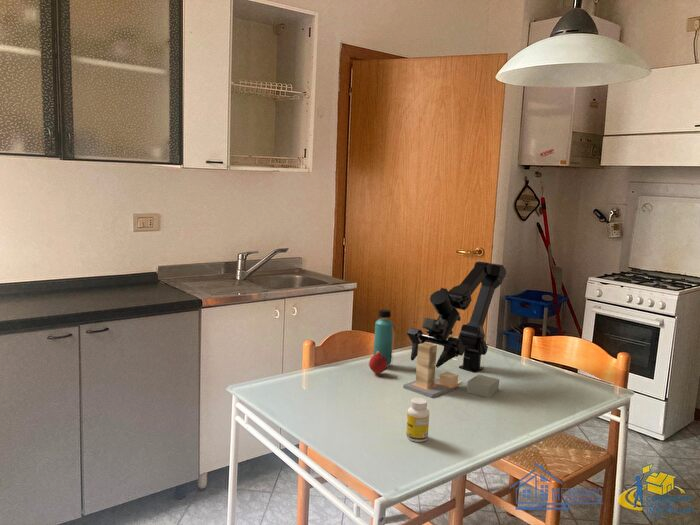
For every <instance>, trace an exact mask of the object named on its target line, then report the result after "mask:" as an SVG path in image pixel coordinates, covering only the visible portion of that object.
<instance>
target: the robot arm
mask: <svg viewBox="0 0 700 525" xmlns="http://www.w3.org/2000/svg"><path fill="white" fill-rule="evenodd" d="M506 275H507V270H506V268H505V267H504V264H499V263H492V262H485V261H480V260H479V261H476V262H474V266H473V268H472V269H471V271H469V273H468V274H467V275H466V277H465V278H464V279H463V280H462V282H461V283H459V284H458V285H456V286H453V287H451V288H450V290H448V289H447V288H444V287H440V290H436V291H435V292H433V293H432V294H431V295H430V296H429V302H430V303H431V305H432V307H433V308H434V310H435V312H436V313H437V314H438V317H437V318H436V319H435V318H429V317H424V319H423V323H422V326H421V328H423V329H426V330H425V332H426V334H428V335H426V334H425V333H424V332H423V331H422V329H419V328H415V327H410V328H409V329H408V330H407V333H406V335H407V336H408V338H409V339H410V341H411V346H412V347H411V351H410V352H411V353H410V361H412V362H414V360H415V359H417V355H418V344H421V343H424V342H427V343H431V344H435V345H437V346H442V347H443V350H442V352H441V354H440V356H438V357H439V358H438V360H436V366H435V368H437V369H438V368H440V367H441V366H443V365H444V364H445V363H447V362H448V361H450V360H452V359H454V358H457V357H458V356H461V357H463V358H462V360H463V361H462V365H459V366H458V368H460V369H461V370H466V371H469V372H472V373H476V372H480V371H482V370H484V369H485V367H484V366H481V363H482V362H481V361H482V355H483V356H486V354H487V352H488V349H489V347H488V345H487V343H486V341H485V338H486V337H485V336H486V334H485V330H484V325H485V322H486V319H487V315H488V312H489V308H490V307H491V306H490V305H491V303H492V299H493V297H494V293H495V290H496V289H497V288H499V286H501V285H502V283H503V281H504V279H505V278H506ZM480 284H481V285H480ZM479 285H480V288H479V292H478V294H477V297H476V301H475V304H474V306H473V310H472V313H471V316H470V319H469V322H467V323H466V324H462V325H461V329H460V332H459V334H458V337H453V336H450V335H453V334H454V332H453V329H454V327H455V324H456V322H457V321H459V322H460V321H461V319H462V318H461V315H460V312H459V311H458V310H460V311H461V310H462V311H466V310H467V309H468V307H470V304H471V302H472V295H473V293H474V292H475V290H476V289H477V288H478V286H479Z"/></svg>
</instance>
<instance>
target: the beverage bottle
mask: <svg viewBox="0 0 700 525" xmlns="http://www.w3.org/2000/svg"><path fill="white" fill-rule="evenodd" d="M378 317H380V318H378V319H377V320H376V321H375V324H374V325H375V326H374V338H373V340H374V341H373V356H374V355H375V354H376V353H377V351H379V352H380V354H382V355H383V356H384V357H385V359H386V361H387V366H389V365H390V364H391V363H392V359H393V344H394V343H393V339H394V338H393V334H394V332H393V331H394V322H393V321H392V320H391V319H389V318H391V310H389V309H379V311H378Z"/></svg>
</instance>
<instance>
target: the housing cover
mask: <svg viewBox="0 0 700 525" xmlns="http://www.w3.org/2000/svg"><path fill="white" fill-rule="evenodd" d="M499 388H500V379H499V378H496V377H493V376H492V377H491V376H487V375H482V374H480V373H479V374H476V375H475V376H473V377H472V378H470V379H468V381H467V383H466V393H469V394H472V395H473V394H474V395H476V396H481V397H484V398H489V397H491V396H492V395H494V394H495V393H496V392H498V391H499Z"/></svg>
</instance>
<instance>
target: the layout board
mask: <svg viewBox="0 0 700 525" xmlns="http://www.w3.org/2000/svg"><path fill="white" fill-rule="evenodd" d="M458 380H459V375H458V374H456V373H453V372H450V371H445V372H443V373H439V376H438V377H435V379H434V385H433V386H431V387H429V388H424V387H421V386H418V385H415V384H416V380H413V381H411V382H408V383H404V384H403V387H402V388H403V389H406V390H409V391H411V392H415V393H417V394H420V395H422V396H426V397H428V398H431V399H432V398H435V397H438V396H440V395H444V394H446V393H449V392H451V391H454V390H456V389H459V386H461V385H462V383H460V384H459V383H458Z"/></svg>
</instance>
